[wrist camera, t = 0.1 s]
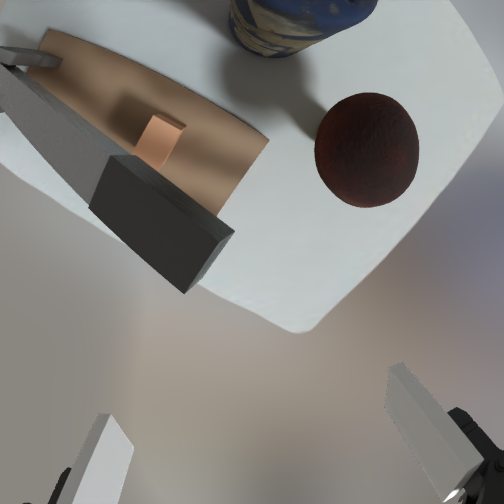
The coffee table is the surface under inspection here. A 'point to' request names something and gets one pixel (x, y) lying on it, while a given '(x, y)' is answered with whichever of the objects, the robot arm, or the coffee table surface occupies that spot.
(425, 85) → the coffee table surface
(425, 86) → the coffee table surface
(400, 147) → the decorative mushroom
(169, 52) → the coffee table surface
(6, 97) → the lever
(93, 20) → the coffee table surface
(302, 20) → the canister
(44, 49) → the base
